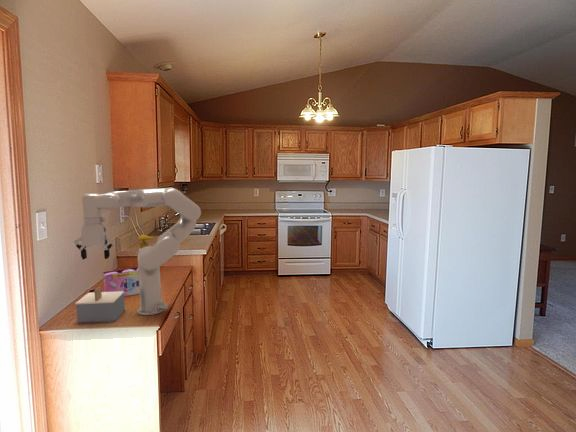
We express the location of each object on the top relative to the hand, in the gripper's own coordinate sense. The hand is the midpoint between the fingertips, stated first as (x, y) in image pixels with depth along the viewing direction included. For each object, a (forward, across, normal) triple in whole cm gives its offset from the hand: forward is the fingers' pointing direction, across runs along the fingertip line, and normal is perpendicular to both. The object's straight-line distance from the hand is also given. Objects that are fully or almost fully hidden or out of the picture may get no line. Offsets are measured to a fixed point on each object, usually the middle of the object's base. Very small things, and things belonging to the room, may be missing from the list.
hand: (95, 258), depth 168 cm
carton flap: (+19, 0, -2) cm, 20 cm away
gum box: (+29, -1, -35) cm, 45 cm away
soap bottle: (+28, -6, -58) cm, 65 cm away
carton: (+28, 0, -3) cm, 29 cm away
